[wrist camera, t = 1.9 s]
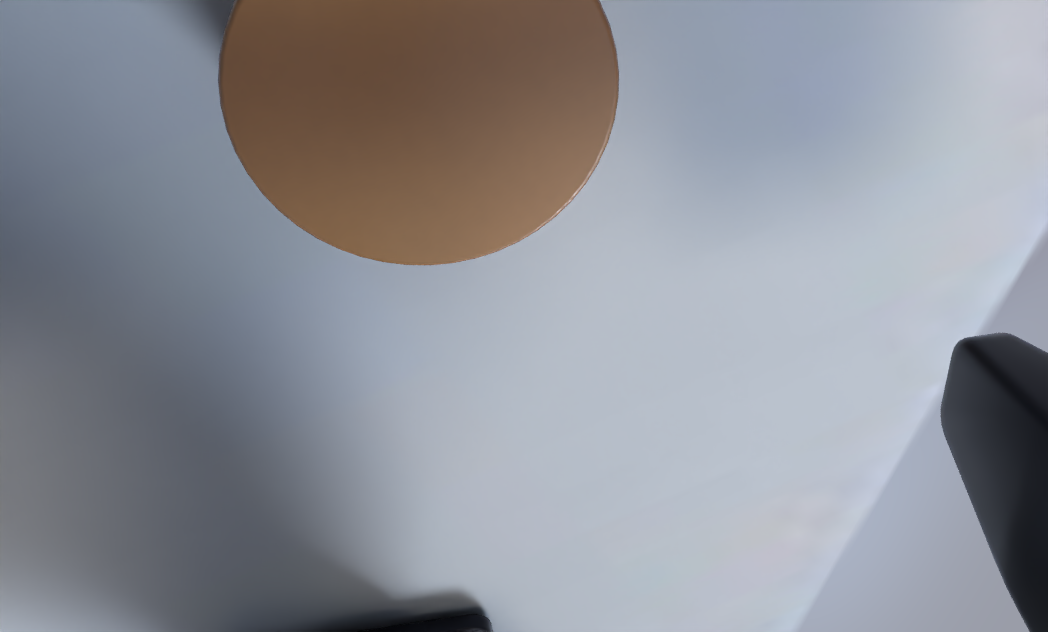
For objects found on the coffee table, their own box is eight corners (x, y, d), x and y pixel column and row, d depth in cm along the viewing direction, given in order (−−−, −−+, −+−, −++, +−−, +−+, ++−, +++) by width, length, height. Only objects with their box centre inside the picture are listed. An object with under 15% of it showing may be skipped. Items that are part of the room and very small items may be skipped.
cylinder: (600, 161, 18) (627, 239, 16) (288, 206, 17) (276, 291, 15) (579, -180, 14) (610, -135, 12) (192, -126, 14) (160, -73, 12)
